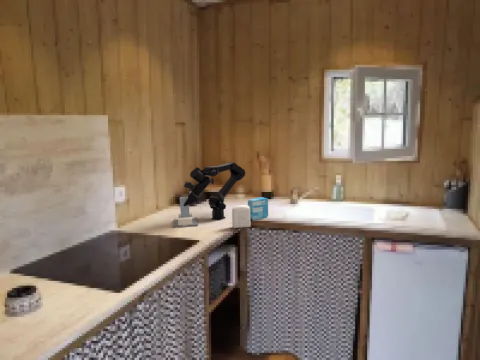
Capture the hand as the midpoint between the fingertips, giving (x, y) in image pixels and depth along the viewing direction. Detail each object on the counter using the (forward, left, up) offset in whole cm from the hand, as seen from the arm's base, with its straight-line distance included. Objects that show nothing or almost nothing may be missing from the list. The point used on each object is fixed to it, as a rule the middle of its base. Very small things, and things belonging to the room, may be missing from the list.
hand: (183, 204), depth 224 cm
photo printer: (-34, -7, -11) cm, 37 cm away
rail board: (0, 0, -11) cm, 11 cm away
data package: (-34, -28, -11) cm, 46 cm away
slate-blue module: (0, 0, -7) cm, 7 cm away
